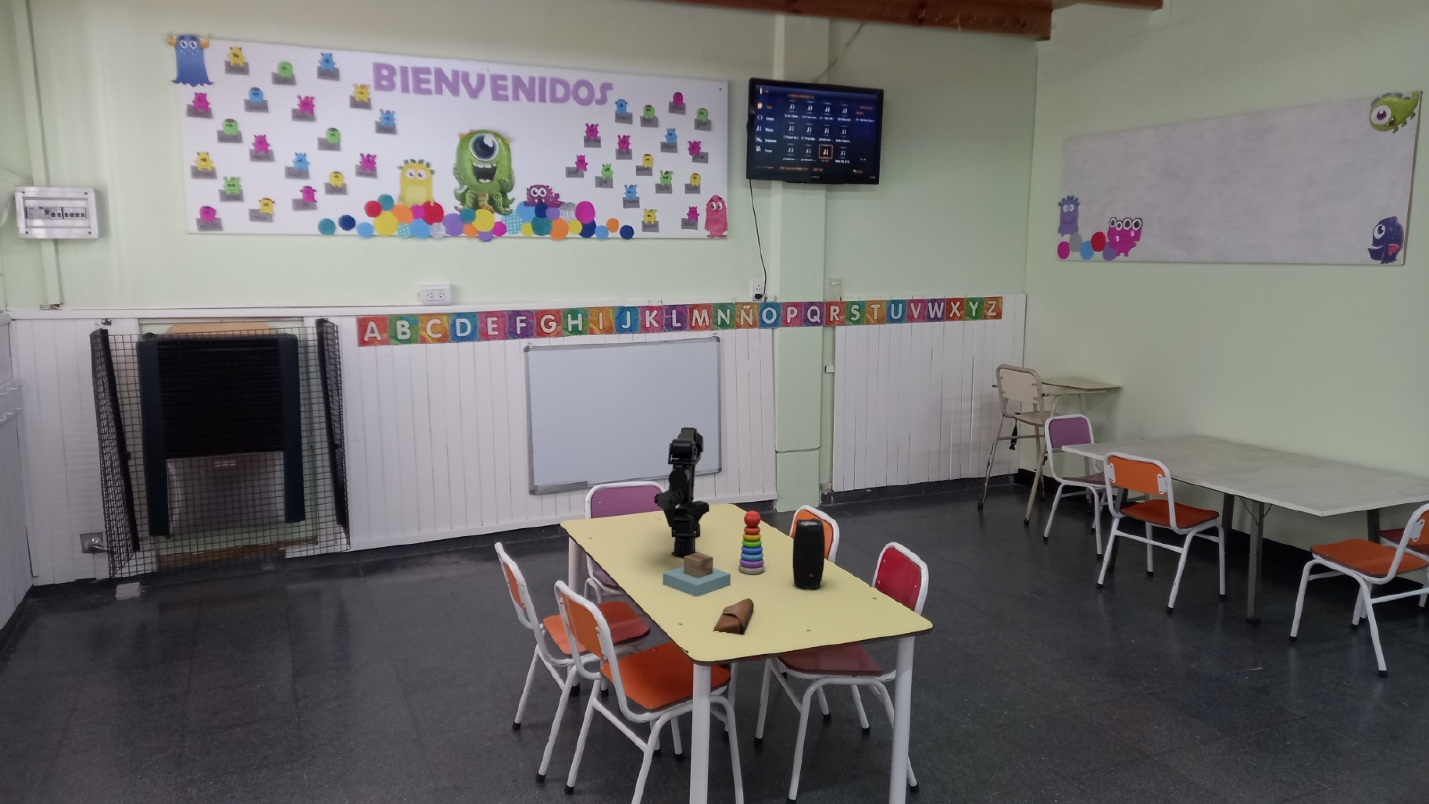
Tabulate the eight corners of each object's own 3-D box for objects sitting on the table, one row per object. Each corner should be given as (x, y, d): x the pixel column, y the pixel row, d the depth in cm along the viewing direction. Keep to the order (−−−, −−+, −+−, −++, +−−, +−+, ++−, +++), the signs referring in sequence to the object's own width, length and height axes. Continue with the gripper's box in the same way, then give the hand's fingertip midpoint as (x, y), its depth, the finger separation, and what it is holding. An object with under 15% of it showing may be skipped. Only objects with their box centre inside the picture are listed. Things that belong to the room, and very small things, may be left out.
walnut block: (698, 568, 282) (698, 552, 281) (712, 573, 278) (713, 557, 277) (683, 573, 278) (684, 556, 277) (698, 578, 273) (698, 561, 273)
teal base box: (696, 574, 288) (696, 562, 287) (730, 586, 278) (730, 573, 278) (662, 586, 278) (662, 572, 277) (696, 598, 268) (696, 585, 268)
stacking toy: (768, 569, 293) (770, 510, 290) (758, 576, 286) (760, 516, 283) (744, 565, 296) (746, 506, 293) (734, 572, 289) (736, 513, 286)
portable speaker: (820, 592, 274) (822, 527, 271) (788, 588, 276) (790, 523, 273) (825, 582, 282) (828, 519, 279) (794, 579, 285) (796, 516, 281)
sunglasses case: (723, 606, 261) (736, 587, 260) (744, 621, 261) (757, 602, 259) (711, 632, 244) (725, 612, 242) (734, 647, 243) (748, 627, 242)
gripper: (641, 479, 289) (640, 528, 291) (684, 490, 276) (683, 542, 279) (667, 473, 297) (667, 521, 299) (711, 484, 284) (710, 534, 287)
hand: (681, 530), depth 291 cm, fingers open, 9 cm apart
